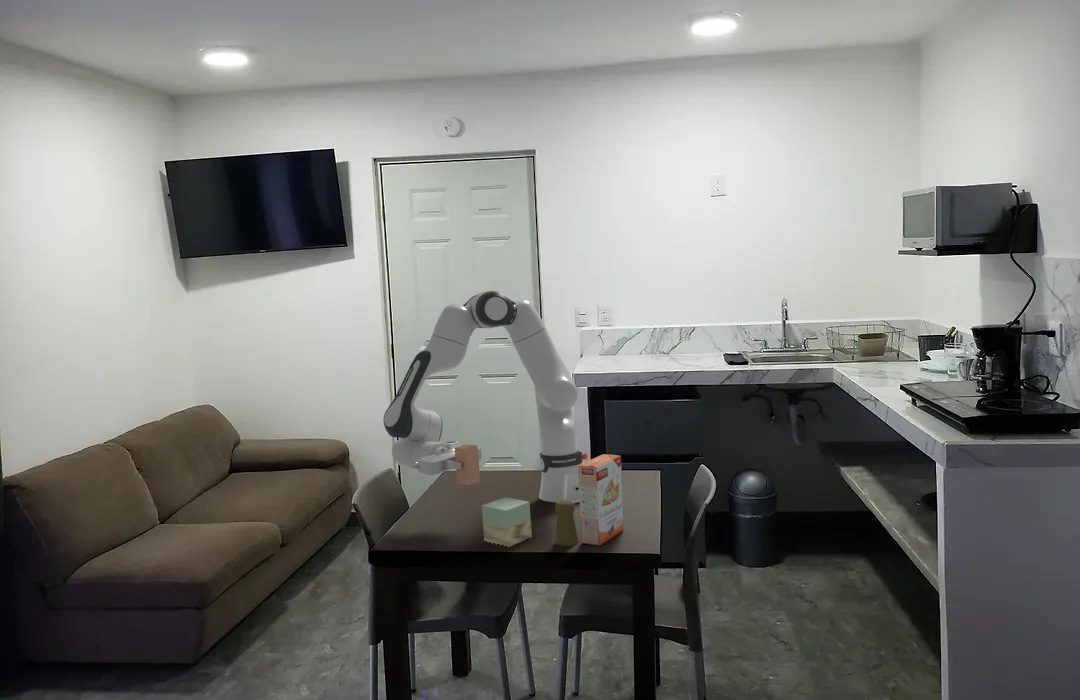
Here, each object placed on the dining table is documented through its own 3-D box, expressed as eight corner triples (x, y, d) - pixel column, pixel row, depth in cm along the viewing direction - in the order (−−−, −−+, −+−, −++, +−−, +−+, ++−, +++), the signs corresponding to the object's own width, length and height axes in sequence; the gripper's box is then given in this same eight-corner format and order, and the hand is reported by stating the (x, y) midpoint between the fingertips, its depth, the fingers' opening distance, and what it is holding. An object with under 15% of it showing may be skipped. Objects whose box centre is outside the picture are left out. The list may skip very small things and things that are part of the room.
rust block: (468, 479, 236) (466, 444, 235) (480, 481, 233) (477, 445, 232) (457, 483, 233) (454, 447, 232) (468, 485, 230) (466, 449, 229)
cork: (554, 539, 223) (551, 498, 222) (576, 537, 223) (574, 497, 222) (556, 547, 217) (554, 505, 216) (579, 545, 217) (577, 503, 216)
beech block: (507, 532, 231) (506, 515, 231) (531, 538, 225) (530, 520, 225) (484, 542, 225) (483, 523, 224) (509, 548, 219) (507, 529, 218)
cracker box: (601, 547, 215) (597, 466, 213) (580, 544, 218) (576, 465, 216) (625, 530, 227) (621, 454, 224) (605, 528, 230) (601, 453, 228)
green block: (506, 514, 231) (505, 497, 230) (530, 520, 225) (529, 501, 224) (483, 523, 224) (481, 505, 224) (507, 529, 218) (506, 510, 218)
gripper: (406, 454, 233) (440, 460, 224) (460, 439, 248) (494, 444, 239) (408, 477, 233) (442, 483, 224) (461, 460, 249) (495, 465, 240)
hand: (469, 462), depth 232 cm, fingers closed on rust block, 4 cm apart
